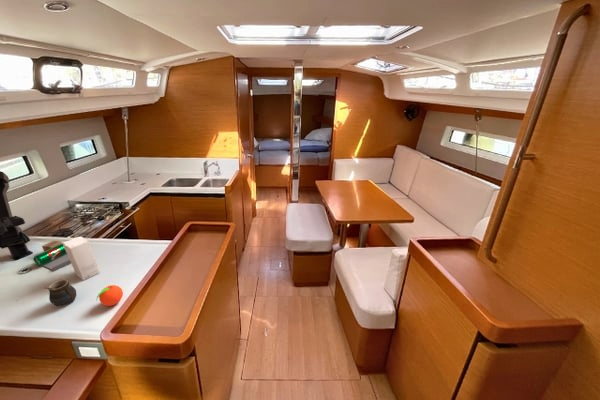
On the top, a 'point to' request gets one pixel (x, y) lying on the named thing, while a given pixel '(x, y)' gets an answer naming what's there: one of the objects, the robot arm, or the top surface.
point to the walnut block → (51, 245)
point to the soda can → (49, 255)
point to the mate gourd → (61, 293)
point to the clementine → (110, 295)
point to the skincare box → (81, 257)
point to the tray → (58, 262)
